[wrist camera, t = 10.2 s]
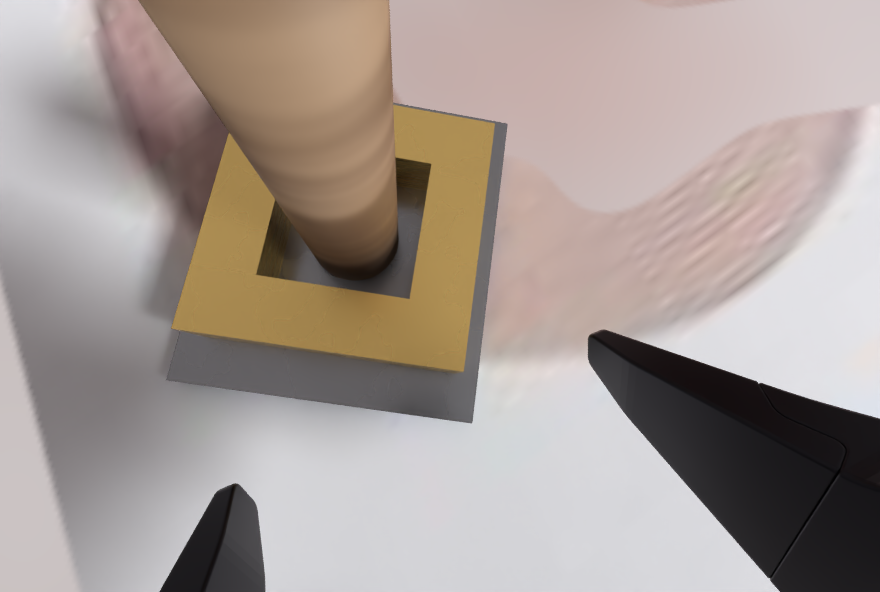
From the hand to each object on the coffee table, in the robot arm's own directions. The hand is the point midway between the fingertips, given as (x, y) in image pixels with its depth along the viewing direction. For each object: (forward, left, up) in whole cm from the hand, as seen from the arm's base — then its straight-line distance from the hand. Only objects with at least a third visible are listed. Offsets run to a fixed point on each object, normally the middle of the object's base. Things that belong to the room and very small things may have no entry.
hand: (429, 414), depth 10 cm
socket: (+7, +4, -9) cm, 12 cm away
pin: (+7, +4, -8) cm, 11 cm away
